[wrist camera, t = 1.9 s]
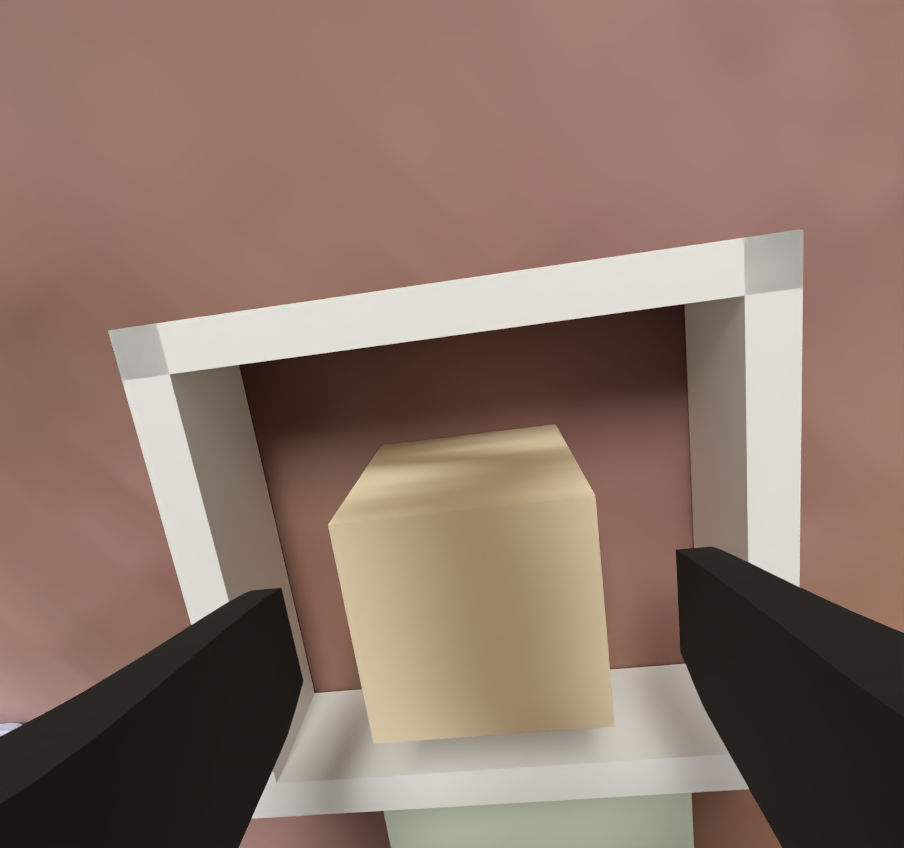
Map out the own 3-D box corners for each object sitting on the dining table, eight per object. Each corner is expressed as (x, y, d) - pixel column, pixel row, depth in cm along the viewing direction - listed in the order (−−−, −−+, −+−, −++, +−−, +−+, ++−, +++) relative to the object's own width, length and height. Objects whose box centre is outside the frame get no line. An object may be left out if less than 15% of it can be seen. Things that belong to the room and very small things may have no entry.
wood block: (408, 598, 15) (373, 743, 10) (381, 444, 14) (328, 524, 9) (570, 582, 15) (614, 726, 10) (555, 423, 14) (595, 495, 9)
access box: (288, 723, 16) (246, 818, 13) (189, 322, 13) (107, 330, 10) (736, 690, 15) (797, 786, 12) (727, 244, 12) (803, 228, 9)
